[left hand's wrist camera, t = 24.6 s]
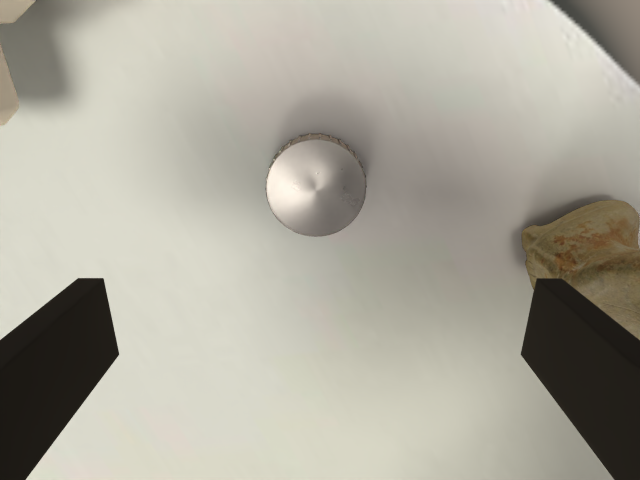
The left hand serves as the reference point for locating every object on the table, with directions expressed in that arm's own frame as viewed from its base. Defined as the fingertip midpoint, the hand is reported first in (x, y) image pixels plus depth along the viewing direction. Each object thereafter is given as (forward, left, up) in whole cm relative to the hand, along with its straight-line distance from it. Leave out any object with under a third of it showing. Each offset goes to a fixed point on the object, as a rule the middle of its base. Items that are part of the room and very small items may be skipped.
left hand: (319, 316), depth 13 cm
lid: (+1, 0, -13) cm, 13 cm away
